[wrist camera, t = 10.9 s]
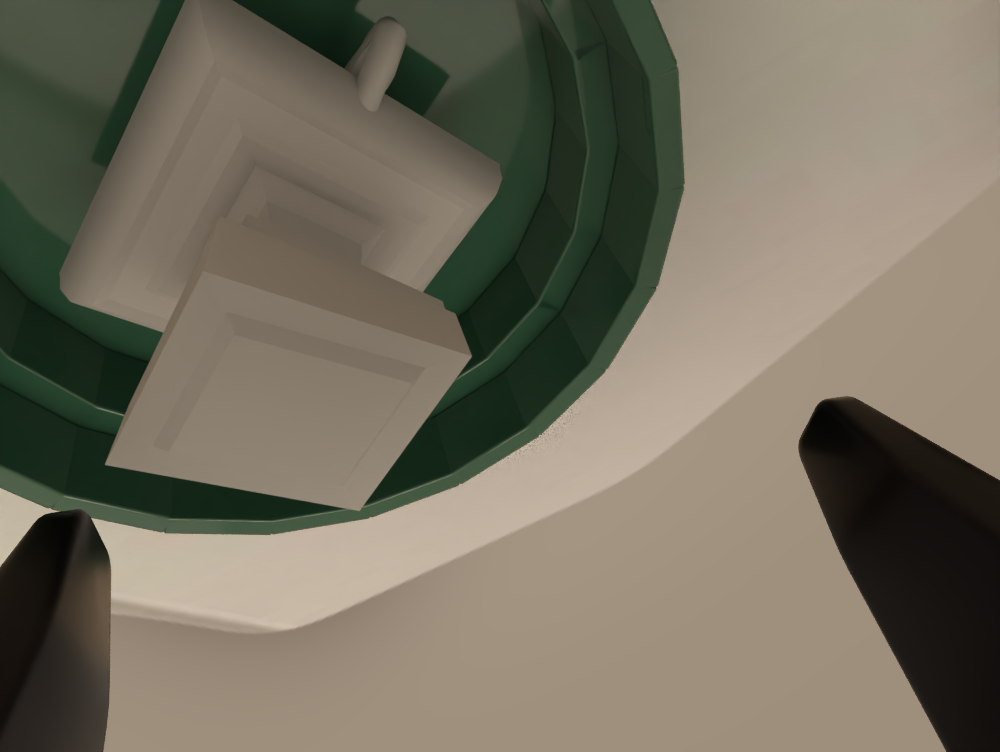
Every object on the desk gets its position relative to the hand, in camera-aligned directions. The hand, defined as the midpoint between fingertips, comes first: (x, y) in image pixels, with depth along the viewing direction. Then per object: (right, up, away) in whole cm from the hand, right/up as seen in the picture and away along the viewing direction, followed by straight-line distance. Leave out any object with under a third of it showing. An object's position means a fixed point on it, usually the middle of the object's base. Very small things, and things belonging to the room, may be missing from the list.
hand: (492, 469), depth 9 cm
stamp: (-5, +6, +8) cm, 11 cm away
